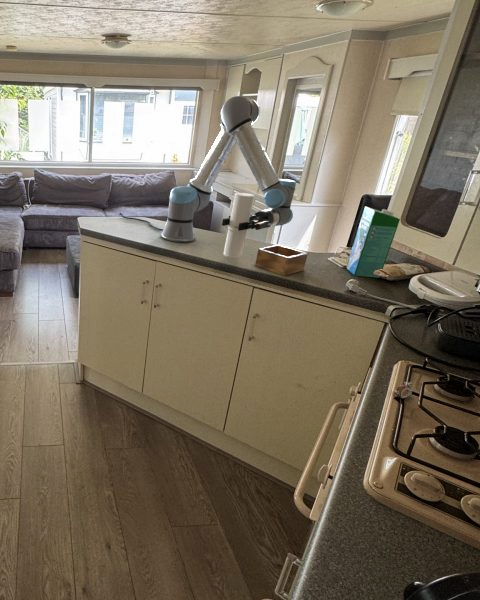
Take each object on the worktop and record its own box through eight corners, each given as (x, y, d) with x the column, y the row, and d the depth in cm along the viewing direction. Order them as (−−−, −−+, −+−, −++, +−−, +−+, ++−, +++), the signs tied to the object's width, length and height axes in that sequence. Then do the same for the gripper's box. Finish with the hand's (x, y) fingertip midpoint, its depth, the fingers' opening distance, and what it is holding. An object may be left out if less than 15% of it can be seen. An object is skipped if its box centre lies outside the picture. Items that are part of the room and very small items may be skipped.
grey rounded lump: (403, 392, 95) (410, 377, 93) (411, 399, 93) (418, 383, 91) (390, 392, 94) (397, 377, 93) (398, 399, 92) (404, 383, 91)
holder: (254, 265, 171) (258, 248, 168) (273, 260, 178) (277, 244, 175) (284, 275, 161) (289, 258, 159) (303, 270, 168) (308, 253, 165)
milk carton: (379, 278, 163) (402, 212, 153) (354, 275, 165) (374, 210, 155) (370, 270, 171) (391, 207, 161) (345, 267, 173) (365, 205, 163)
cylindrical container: (239, 259, 174) (252, 197, 163) (221, 255, 177) (233, 194, 167) (243, 254, 179) (255, 194, 169) (226, 251, 183) (237, 192, 172)
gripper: (284, 233, 176) (250, 240, 164) (243, 222, 191) (209, 227, 179) (289, 215, 173) (254, 221, 161) (247, 205, 188) (212, 210, 176)
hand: (231, 224), depth 170 cm, fingers closed on cylindrical container, 7 cm apart
